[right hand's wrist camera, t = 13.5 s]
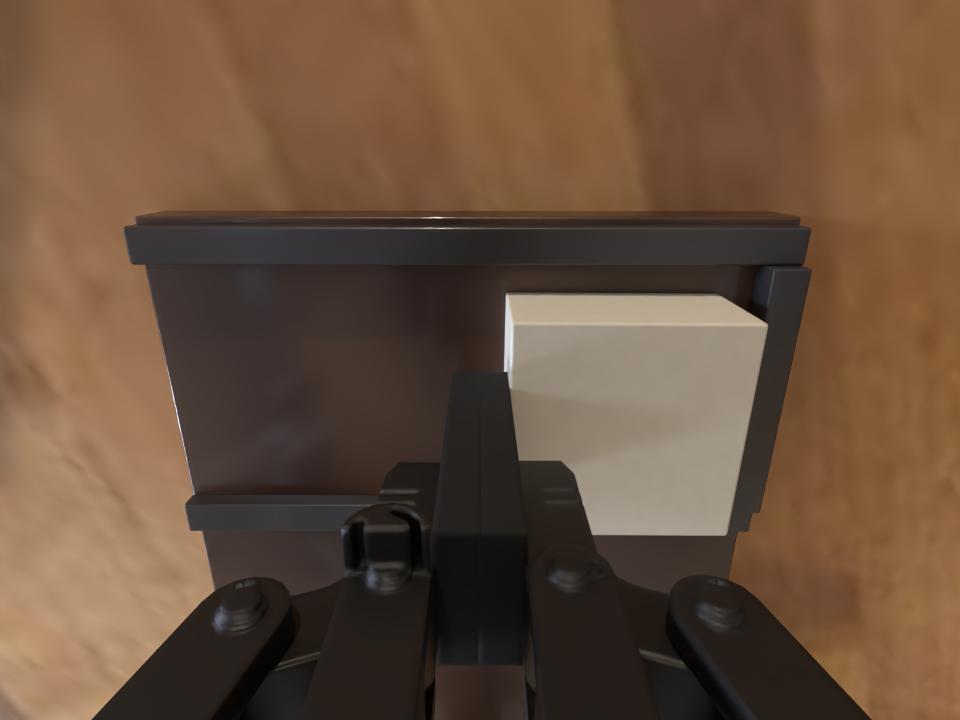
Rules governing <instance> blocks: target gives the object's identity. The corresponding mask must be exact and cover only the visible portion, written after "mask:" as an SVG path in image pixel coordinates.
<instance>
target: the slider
mask: <svg viewBox="0 0 960 720" xmlns="http://www.w3.org/2000/svg"><path fill="white" fill-rule="evenodd" d="M767 330H768V324H767V323H765V322H763V321H762V320H760V319H758V318H757V317H755V316H753V315H752V314H750V313H748V312H747V311H745V310H743V309H742V308H740V307H738V306H737V305H735V304H733V303H732V302H730V301H728V300H727V299H725V298H723V297H722V296H720V295H718V294H693V293H507V294H506V309H505V355H504V372H508V381H509V387H510V395H511V403H512V410H513V418H514V426H515V434H516V442H517V450H518V458H519V461H562V462H563V463H564V464H565V465H566V466H567V467H568V468H569V469H570V470H571V471H572V472H573V473H574V474H575V478H576V481H577V484H578V488H579V492H580V495H581V498H582V502H583V505H584V508H585V512H586V515H587V519H588V522H589V525H590V529H591V532H592V535H686V536H725V535H727V532H728V527H729V522H730V517H731V512H732V507H733V502H734V497H735V492H736V487H737V482H738V477H739V472H740V467H741V462H742V456H743V451H744V446H745V441H746V436H747V431H748V426H749V421H750V416H751V411H752V406H753V401H754V396H755V391H756V386H757V381H758V376H759V371H760V366H761V361H762V356H763V350H764V345H765V340H766V335H767Z"/></svg>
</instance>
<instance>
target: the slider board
mask: <svg viewBox="0 0 960 720" xmlns="http://www.w3.org/2000/svg"><path fill="white" fill-rule="evenodd" d="M135 222H136V224H135V225H131V226H126V227H124V228H123V231H124V236H125V240H126V245H127V249H128V254H129V258H130V262H131V264H134V265H145V269H146V273H147V278H148V283H149V287H150V292H151V297H152V301H153V306H154V311H155V315H156V320H157V325H158V329H159V334H160V339H161V343H162V348H163V353H164V357H165V362H166V367H167V371H168V376H169V381H170V385H171V390H172V395H173V399H174V404H175V408H176V413H177V418H178V422H179V427H180V432H181V436H182V441H183V446H184V450H185V455H186V460H187V464H188V469H189V474H190V478H191V483H192V488H193V492H194V495H193V496H192V497H191V498H190V499H189V500H188V501H187V503H186V504H185V510H186V515H187V519H188V524H189V528H190V530H191V531H202V534H203V539H204V544H205V548H206V553H207V558H208V562H209V567H210V571H211V576H212V581H213V585H214V590H215V591H216V590H217V589H219V588H221V587H223V586H225V585H227V584H229V583H232V582H234V581H237V580H241V579H246V578H250V577H269V578H272V579H274V580H277V581H279V582H282V583H283V584H284V586H285V587H286V588H287V589H288V591H289V592H290V596H293V595H298V594H302V593H306V592H310V591H314V590H317V589H321V588H324V587H327V586H330V585H332V584H333V583H335V582H337V581H339V580H341V579H343V578H344V576H345V563H344V554H343V545H342V535H341V528H342V526H343V525H344V523H345V522H346V520H347V519H348V518H349V517H350V516H352V515H353V514H355V513H356V512H358V511H359V510H361V509H364V508H366V507H369V506H372V505H375V504H377V503H378V499H379V496H380V494H381V489H382V486H383V482H384V479H385V475H386V474H387V473H389V472H390V471H391V470H392V469H393V468H394V467H395V466H396V465H397V464H398V463H399V462H441V456H442V448H443V440H444V432H445V424H446V416H447V408H448V400H449V392H450V385H451V377H452V372H504V355H505V309H506V294H507V293H693V294H718V295H720V296H722V297H723V298H725V299H727V300H728V301H730V302H732V303H733V304H735V305H737V306H738V307H740V308H742V309H743V310H745V311H747V312H748V313H750V314H752V315H753V316H755V317H757V318H758V319H760V320H762V321H763V322H765V323H767V324H768V330H767V335H766V340H765V345H764V350H763V356H762V361H761V366H760V371H759V376H758V381H757V386H756V391H755V396H754V401H753V406H752V411H751V416H750V421H749V426H748V431H747V436H746V441H745V446H744V451H743V456H742V462H741V467H740V472H739V477H738V482H737V487H736V492H735V497H734V502H733V507H732V512H731V517H730V522H729V527H728V532H727V535H725V536H686V535H592V536H593V539H594V542H595V546H596V549H597V553H598V554H599V555H601V556H602V557H603V558H604V559H606V560H607V561H608V562H609V564H610V566H611V567H612V569H613V571H614V572H615V575H616V576H618V577H619V578H621V579H623V580H625V581H627V582H629V583H631V584H634V585H637V586H640V587H643V588H647V589H651V590H655V591H659V592H663V593H667V594H670V590H671V588H672V587H673V586H674V585H675V583H676V582H677V581H678V580H680V579H682V578H685V577H687V576H690V575H712V576H716V577H720V578H725V579H727V580H728V576H729V571H730V566H731V561H732V556H733V551H734V547H735V542H736V537H737V532H748V531H749V526H750V521H751V516H752V513H759V512H760V509H761V504H762V499H763V495H764V490H765V485H766V481H767V476H768V471H769V467H770V462H771V458H772V453H773V448H774V444H775V439H776V434H777V430H778V425H779V420H780V416H781V411H782V406H783V402H784V397H785V392H786V388H787V383H788V379H789V374H790V369H791V365H792V360H793V355H794V351H795V346H796V341H797V337H798V332H799V327H800V323H801V318H802V313H803V309H804V304H805V300H806V295H807V290H808V286H809V281H810V276H811V272H812V271H811V269H809V268H806V267H804V266H801V265H803V264H804V262H805V257H806V252H807V247H808V243H809V238H810V233H811V228H809V227H805V226H800V225H799V223H800V218H799V217H796V216H791V215H786V214H781V213H776V212H521V211H162V212H157V213H151V214H146V215H141V216H136V217H135ZM435 683H436V703H435V715H434V720H523V709H524V683H525V669H524V658H523V666H478V665H437V661H436V669H435Z"/></svg>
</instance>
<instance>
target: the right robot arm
mask: <svg viewBox="0 0 960 720" xmlns="http://www.w3.org/2000/svg"><path fill="white" fill-rule="evenodd" d="M341 535H342V545H343V554H344V563H345V576H344V578H343V579H341V580H339V581H337V582H335V583H333V584H332V585H330V586H327V587H324V588H321V589H317V590H314V591H310V592H306V593H302V594H298V595H293V596H290V592H289V591H288V589H287V588H286V587H285V586H284V584H283V583H282V582H279V581H277V580H274V579H272V578H269V577H250V578H246V579H241V580H237V581H234V582H232V583H229V584H227V585H225V586H223V587H221V588H219V589H217V590H216V591H214V592H213V593H212V594H211V595H210V596H208V597H207V598H206V599H205V600H203V601H202V602H201V603H200V604H199V605H198V607H197V608H196V609H195V610H194V611H193V612H192V613H191V614H190V615H189V616H188V617H187V618H186V619H185V620H184V621H183V623H182V624H181V625H180V626H179V627H178V628H177V629H176V630H175V631H174V632H173V633H172V634H171V635H170V636H169V637H168V639H167V640H166V641H165V642H164V643H163V644H162V645H161V646H160V647H159V648H158V649H157V650H156V651H155V652H154V654H153V655H152V656H151V657H150V658H149V659H148V660H147V661H146V662H145V663H144V664H143V665H142V666H141V667H140V668H139V670H138V671H137V672H136V673H135V674H134V675H133V676H132V677H131V678H130V679H129V680H128V681H127V682H126V683H125V684H124V686H123V687H122V688H121V689H120V690H119V691H118V692H117V693H116V694H115V695H114V696H113V697H112V698H111V699H110V700H109V702H108V703H107V704H106V705H105V706H104V707H103V708H102V709H101V710H100V711H99V712H98V713H97V714H96V715H95V717H94V718H93V719H92V720H434V715H435V703H436V683H435V669H436V661H437V665H478V666H523V658H524V669H525V683H524V709H523V720H872V719H871V718H870V717H869V716H868V715H867V714H866V713H865V712H864V711H863V710H862V709H861V708H860V707H859V706H858V705H857V704H856V702H855V701H854V700H853V699H852V698H851V697H850V696H849V695H848V694H847V693H846V692H845V691H844V690H843V689H842V688H841V687H840V686H839V684H838V683H837V682H836V681H835V680H834V679H833V678H832V677H831V676H830V675H829V674H828V673H827V672H826V671H825V670H824V669H823V667H822V666H821V665H820V664H819V663H818V662H817V661H816V660H815V659H814V658H813V657H812V656H811V655H810V654H809V653H808V652H807V650H806V649H805V648H804V647H803V646H802V645H801V644H800V643H799V642H798V641H797V640H796V639H795V638H794V637H793V636H792V635H791V634H790V632H789V631H788V630H787V629H786V628H785V627H784V626H783V625H782V624H781V623H780V622H779V621H778V620H777V619H776V618H775V617H774V615H773V614H772V613H771V612H770V611H769V610H768V609H767V608H766V607H765V606H764V605H763V604H762V603H761V602H760V601H759V600H758V599H757V598H756V597H755V596H754V595H752V594H751V593H750V592H749V591H747V590H746V589H745V588H744V587H742V586H740V585H738V584H736V583H734V582H731V581H729V580H727V579H725V578H720V577H716V576H712V575H690V576H687V577H685V578H682V579H680V580H678V581H677V582H676V583H675V585H674V586H673V587H672V588H671V590H670V594H667V593H663V592H659V591H655V590H651V589H647V588H643V587H640V586H637V585H634V584H631V583H629V582H627V581H625V580H623V579H621V578H619V577H618V576H616V575H615V572H614V571H613V569H612V567H611V566H610V564H609V562H608V561H607V560H606V559H604V558H603V557H602V556H601V555H599V554H598V553H597V549H596V546H595V542H594V539H593V536H592V532H591V529H590V525H589V522H588V519H587V515H586V512H585V508H584V505H583V502H582V498H581V495H580V492H579V488H578V484H577V481H576V478H575V474H574V473H573V472H572V471H571V470H570V469H569V468H568V467H567V466H566V465H565V464H564V463H563V462H562V461H519V458H518V450H517V442H516V434H515V426H514V418H513V410H512V403H511V395H510V387H509V381H508V372H452V377H451V385H450V392H449V400H448V408H447V416H446V424H445V432H444V440H443V448H442V456H441V462H399V463H398V464H397V465H396V466H395V467H394V468H393V469H392V470H391V471H390V472H389V473H387V474H386V475H385V479H384V482H383V486H382V489H381V494H380V496H379V499H378V503H377V504H375V505H372V506H369V507H366V508H364V509H361V510H359V511H358V512H356V513H355V514H353V515H352V516H350V517H349V518H348V519H347V520H346V522H345V523H344V525H343V526H342V528H341Z"/></svg>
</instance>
